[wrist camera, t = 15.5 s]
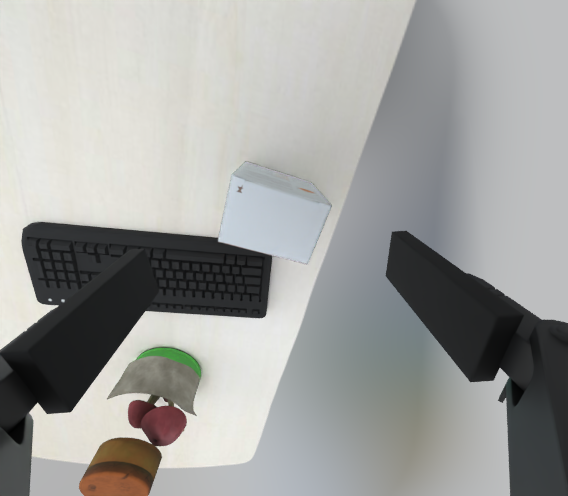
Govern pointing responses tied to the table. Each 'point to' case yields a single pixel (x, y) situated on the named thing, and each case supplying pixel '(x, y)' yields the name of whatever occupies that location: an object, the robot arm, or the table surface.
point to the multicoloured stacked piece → (145, 423)
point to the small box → (273, 213)
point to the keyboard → (164, 263)
